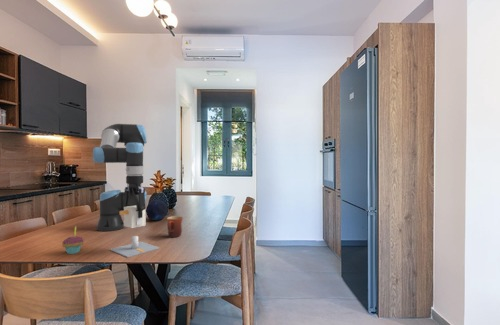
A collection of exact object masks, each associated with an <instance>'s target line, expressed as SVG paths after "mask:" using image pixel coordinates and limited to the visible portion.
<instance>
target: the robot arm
mask: <svg viewBox="0 0 500 325" xmlns="http://www.w3.org/2000/svg"><path fill="white" fill-rule="evenodd" d="M100 139H101V142H100V145H99V146H96V147H93V150H92V159H93V162H94V163H98V164H99V163H100V164H105V163H106V164H109V163H110V164H114V163H115V164H116V163H119V164H120V163H121V164H122V163H125V165H126V166H125V174H126V176H125V183H126V186H125V187H124V191H122V190H121V189H114V190H107V191H104V192H101V193H100V195H99V218H98V221H97V224H96V231H99V232H113V231H119V230H122V229H124V228H125V226H124V219H123V218H122V215H119V211H124V207H127V206H135V205H136V206H137V210H136V225H141V224H142V211H143V210H145V209H146V208H147V207H146V204H147V203H146V201H147V191H146V189H145V188H144V187H143V186H142V184H143V183H144V148H145V144H147V141H148V140H147V133H146V128H145V126H144V125H143V124H135V123H134V124H132V123H130V124H129V123H114V124H111V125H109V126H106V127H105V128H104V129H103V130H102V132H101V134H100ZM117 143H118V144H119V143H120V144H124V145H123V147H117ZM145 207H146V208H145Z"/></svg>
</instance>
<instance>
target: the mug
mask: <svg viewBox="0 0 500 325" xmlns="http://www.w3.org/2000/svg"><path fill="white" fill-rule="evenodd" d="M183 219H184V217H183V216H179V215H178V216H177V215H175V216H174V215H173V216H168V217H166V220H167V234H168V237H170V238H179V237H181V236H182V232H183V231H182V230H183V229H182V228H183V227H182V226H183V225H182V222H183Z"/></svg>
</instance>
